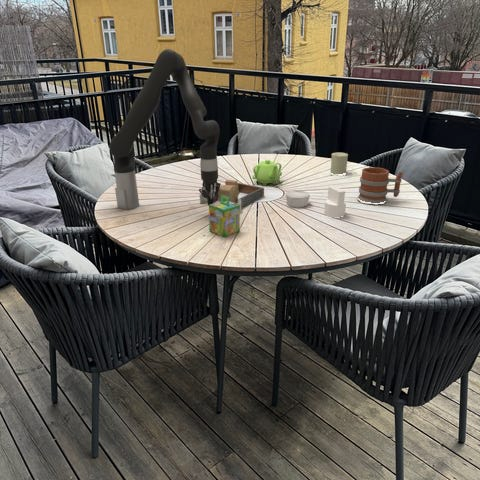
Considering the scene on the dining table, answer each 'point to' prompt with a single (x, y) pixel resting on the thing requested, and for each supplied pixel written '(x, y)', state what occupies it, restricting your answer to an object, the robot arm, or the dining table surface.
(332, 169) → the can
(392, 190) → the mug
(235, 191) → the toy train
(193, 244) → the dining table surface
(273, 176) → the teapot
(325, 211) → the white stepped block
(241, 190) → the bay
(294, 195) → the ramekin
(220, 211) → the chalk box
